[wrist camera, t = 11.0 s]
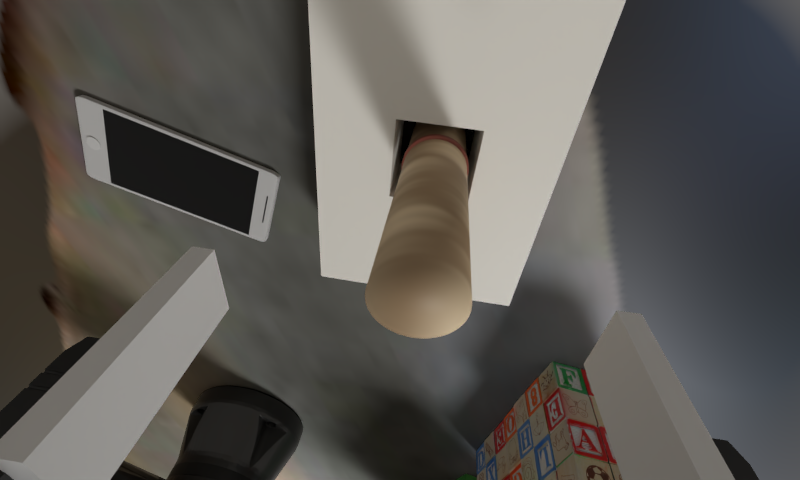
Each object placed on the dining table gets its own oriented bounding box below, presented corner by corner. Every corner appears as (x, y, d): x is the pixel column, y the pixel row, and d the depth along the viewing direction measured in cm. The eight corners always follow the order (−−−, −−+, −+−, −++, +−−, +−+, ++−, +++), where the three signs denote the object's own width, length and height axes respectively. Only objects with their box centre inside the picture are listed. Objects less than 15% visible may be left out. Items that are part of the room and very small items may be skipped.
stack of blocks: (518, 461, 50) (533, 581, 40) (474, 449, 50) (478, 567, 40) (609, 374, 37) (663, 518, 27) (551, 358, 37) (584, 498, 27)
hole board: (339, 237, 31) (321, 276, 27) (336, -63, 20) (304, -73, 16) (502, 262, 31) (508, 306, 27) (601, -34, 19) (640, -37, 15)
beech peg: (408, 157, 26) (360, 330, 14) (414, 104, 24) (363, 249, 11) (461, 165, 26) (463, 347, 13) (472, 111, 24) (487, 268, 11)
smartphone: (83, 91, 27) (72, 94, 26) (283, 171, 29) (278, 176, 28) (95, 171, 31) (86, 176, 31) (269, 237, 33) (265, 244, 32)
